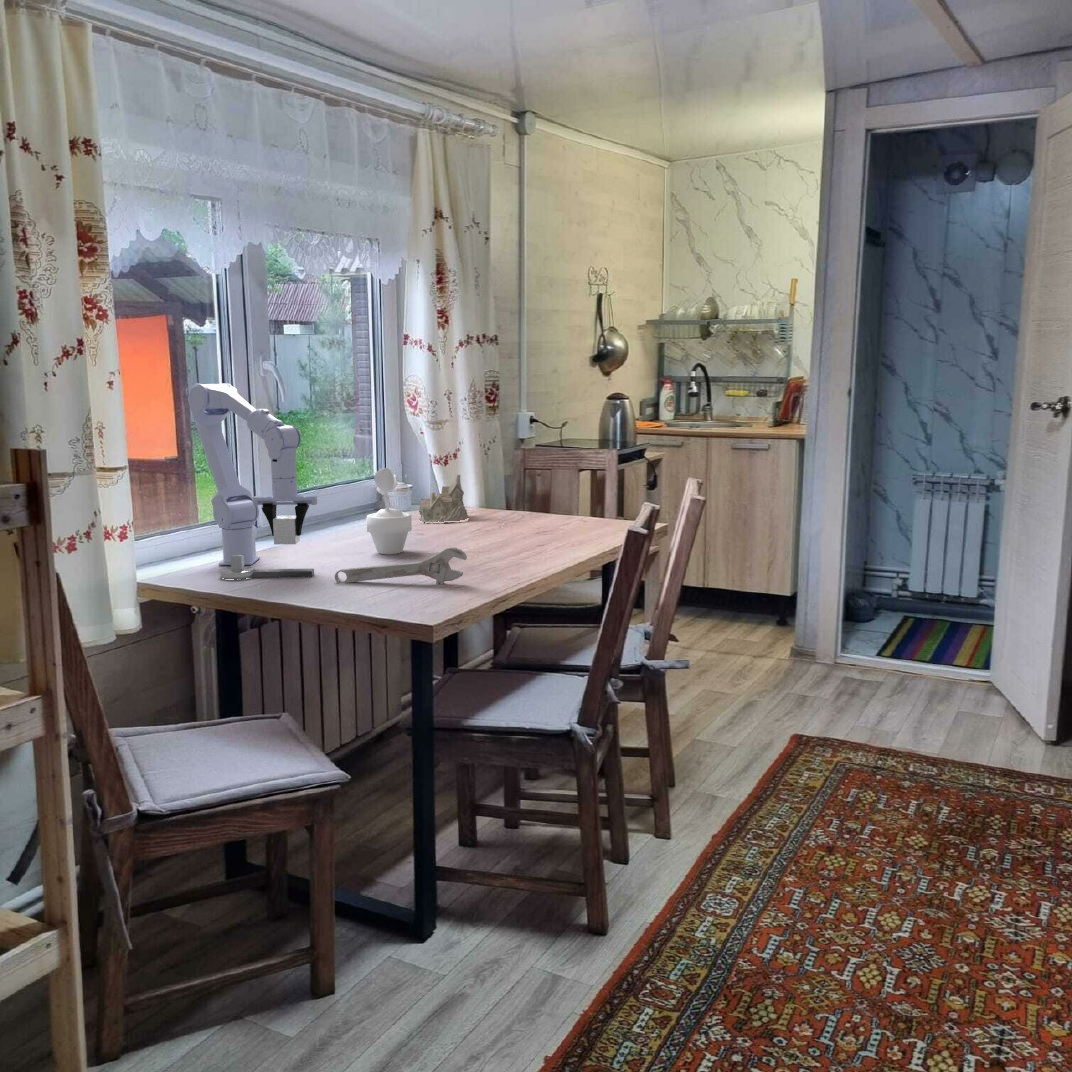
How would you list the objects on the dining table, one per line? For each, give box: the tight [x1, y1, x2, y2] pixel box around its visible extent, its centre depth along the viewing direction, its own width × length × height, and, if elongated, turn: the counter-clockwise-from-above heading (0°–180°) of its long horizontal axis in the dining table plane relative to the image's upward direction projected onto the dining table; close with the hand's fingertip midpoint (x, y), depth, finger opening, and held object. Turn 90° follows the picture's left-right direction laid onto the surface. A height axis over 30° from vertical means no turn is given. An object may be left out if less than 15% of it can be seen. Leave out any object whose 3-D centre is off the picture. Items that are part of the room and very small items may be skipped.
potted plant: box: [366, 458, 413, 555], centre depth 260 cm, size 13×12×25 cm
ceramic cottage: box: [418, 474, 470, 522], centre depth 315 cm, size 16×16×15 cm
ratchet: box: [219, 555, 315, 581], centre depth 232 cm, size 8×21×5 cm, turn 93°
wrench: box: [334, 546, 468, 585], centre depth 224 cm, size 8×2×30 cm
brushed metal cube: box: [273, 515, 301, 545], centre depth 237 cm, size 5×5×6 cm
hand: (286, 535), depth 238 cm, fingers closed on brushed metal cube, 5 cm apart
